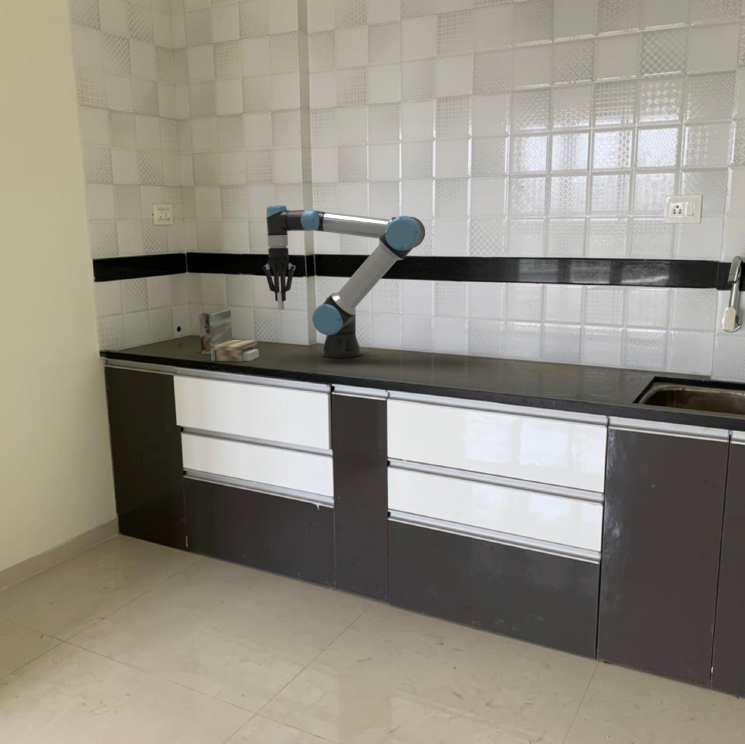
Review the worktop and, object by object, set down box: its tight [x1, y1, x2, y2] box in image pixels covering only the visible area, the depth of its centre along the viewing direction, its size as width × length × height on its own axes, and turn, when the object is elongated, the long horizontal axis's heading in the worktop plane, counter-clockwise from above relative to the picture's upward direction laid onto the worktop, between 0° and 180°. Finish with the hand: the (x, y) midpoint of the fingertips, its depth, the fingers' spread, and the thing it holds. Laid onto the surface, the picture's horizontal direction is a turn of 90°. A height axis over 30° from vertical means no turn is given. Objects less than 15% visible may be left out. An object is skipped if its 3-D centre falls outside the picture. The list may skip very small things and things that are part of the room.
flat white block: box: [242, 348, 260, 362], centre depth 289 cm, size 11×9×3 cm
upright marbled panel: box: [209, 309, 258, 363], centre depth 288 cm, size 12×16×18 cm
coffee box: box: [198, 312, 214, 355], centre depth 301 cm, size 9×6×16 cm
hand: (281, 309), depth 283 cm, fingers closed
